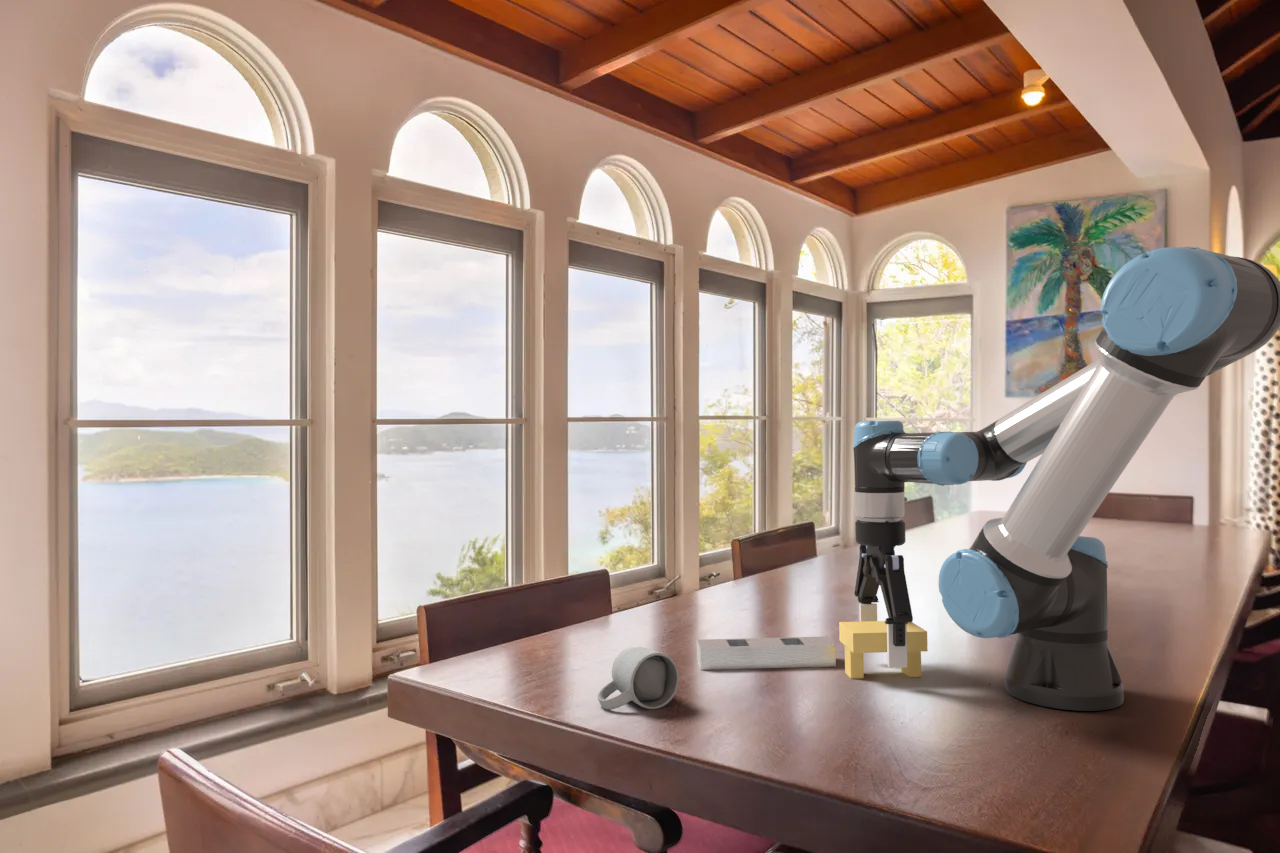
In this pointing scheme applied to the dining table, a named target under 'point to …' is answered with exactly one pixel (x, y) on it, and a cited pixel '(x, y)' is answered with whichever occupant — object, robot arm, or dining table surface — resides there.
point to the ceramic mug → (641, 679)
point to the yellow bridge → (878, 645)
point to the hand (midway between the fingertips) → (882, 655)
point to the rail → (765, 653)
